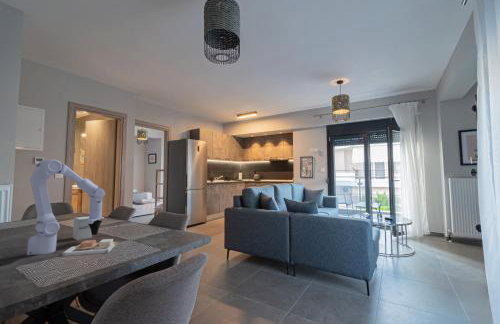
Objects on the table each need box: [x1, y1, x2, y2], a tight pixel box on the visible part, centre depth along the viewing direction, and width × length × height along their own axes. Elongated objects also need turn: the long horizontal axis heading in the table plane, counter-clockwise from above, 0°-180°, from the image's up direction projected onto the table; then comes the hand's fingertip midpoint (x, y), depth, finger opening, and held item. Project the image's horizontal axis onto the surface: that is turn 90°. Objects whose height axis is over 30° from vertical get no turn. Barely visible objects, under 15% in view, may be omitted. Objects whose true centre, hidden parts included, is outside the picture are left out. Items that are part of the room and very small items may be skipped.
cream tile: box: [98, 238, 114, 246], centre depth 118 cm, size 5×5×2 cm
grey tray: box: [61, 244, 115, 257], centre depth 107 cm, size 18×10×2 cm, turn 107°
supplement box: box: [72, 215, 93, 241], centre depth 130 cm, size 7×7×13 cm
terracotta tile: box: [80, 239, 97, 247], centre depth 116 cm, size 5×5×2 cm
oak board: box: [75, 241, 119, 250], centre depth 116 cm, size 18×9×1 cm, turn 107°
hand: (94, 234), depth 123 cm, fingers closed
